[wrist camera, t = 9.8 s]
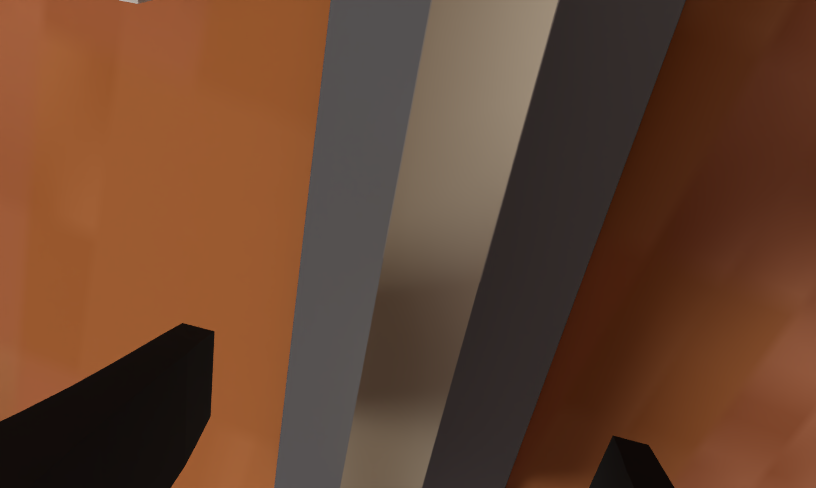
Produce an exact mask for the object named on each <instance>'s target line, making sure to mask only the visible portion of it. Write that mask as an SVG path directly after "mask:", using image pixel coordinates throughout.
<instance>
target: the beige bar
mask: <svg viewBox="0 0 816 488" xmlns="http://www.w3.org/2000/svg"><path fill="white" fill-rule="evenodd" d="M559 1H560V0H431V2H430V8H429V13H428V18H427V24H426V29H425V34H424V40H423V45H422V50H421V56H420V61H419V66H418V71H417V77H416V82H415V87H414V93H413V98H412V103H411V109H410V114H409V119H408V125H407V130H406V135H405V141H404V146H403V151H402V157H401V162H400V167H399V172H398V178H397V183H396V188H395V194H394V199H393V204H392V210H391V215H390V220H389V226H388V231H387V236H386V242H385V247H384V252H383V263H382V269H381V274H380V279H379V285H378V290H377V295H376V300H375V306H374V311H373V316H372V322H371V327H370V332H369V337H368V343H367V348H366V353H365V359H364V364H363V369H362V374H361V380H360V385H359V390H358V396H357V401H356V406H355V411H354V417H353V422H352V427H351V433H350V438H349V443H348V448H347V454H346V459H345V464H344V470H343V475H342V480H341V485H340V488H422V486H423V482H424V479H425V475H426V472H427V468H428V464H429V461H430V457H431V454H432V450H433V447H434V443H435V439H436V436H437V432H438V429H439V425H440V421H441V418H442V414H443V411H444V407H445V404H446V400H447V396H448V393H449V389H450V386H451V382H452V379H453V375H454V371H455V368H456V364H457V361H458V357H459V354H460V350H461V346H462V343H463V339H464V336H465V332H466V328H467V325H468V321H469V318H470V314H471V311H472V307H473V303H474V300H475V296H476V293H477V289H478V286H479V282H481V279H482V276H483V272H484V268H485V265H486V261H487V258H488V254H489V251H490V247H491V244H492V240H493V236H494V233H495V229H496V226H497V222H498V219H499V215H500V211H501V208H502V204H503V201H504V197H505V194H506V190H507V186H508V183H509V179H510V176H511V172H512V169H513V165H514V162H515V158H516V154H517V151H518V147H519V144H520V140H521V137H522V133H523V129H524V126H525V122H526V119H527V115H528V112H529V108H530V105H531V101H532V97H533V94H534V90H535V87H536V83H537V80H538V76H539V72H540V69H541V65H542V62H543V58H544V55H545V51H546V48H547V44H548V40H549V37H550V33H551V30H552V26H553V23H554V19H555V15H556V12H557V8H558V5H559Z"/></svg>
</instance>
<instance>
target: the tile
mask: <svg viewBox="0 0 816 488" xmlns="http://www.w3.org/2000/svg"><path fill="white" fill-rule="evenodd" d="M121 1H126V2H131V3H137V4H139V3H143V2H147V1H151V0H121Z"/></svg>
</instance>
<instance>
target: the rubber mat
mask: <svg viewBox="0 0 816 488" xmlns="http://www.w3.org/2000/svg"><path fill="white" fill-rule="evenodd" d="M685 1H686V0H560V1H559V5H558V8H557V12H556V15H555V19H554V23H553V26H552V30H551V33H550V37H549V40H548V44H547V48H546V51H545V55H544V58H543V62H542V65H541V69H540V72H539V76H538V80H537V83H536V87H535V90H534V94H533V97H532V101H531V105H530V108H529V112H528V115H527V119H526V122H525V126H524V129H523V133H522V137H521V140H520V144H519V147H518V151H517V154H516V158H515V162H514V165H513V169H512V172H511V176H510V179H509V183H508V186H507V190H506V194H505V197H504V201H503V204H502V208H501V211H500V215H499V219H498V222H497V226H496V229H495V233H494V236H493V240H492V244H491V247H490V251H489V254H488V258H487V261H486V265H485V268H484V272H483V276H482V279H481V282H479V286H478V289H477V293H476V296H475V300H474V303H473V307H472V311H471V314H470V318H469V321H468V325H467V328H466V332H465V336H464V339H463V343H462V346H461V350H460V354H459V357H458V361H457V364H456V368H455V371H454V375H453V379H452V382H451V386H450V389H449V393H448V396H447V400H446V404H445V407H444V411H443V414H442V418H441V421H440V425H439V429H438V432H437V436H436V439H435V443H434V447H433V450H432V454H431V457H430V461H429V464H428V468H427V472H426V475H425V479H424V482H423V486H422V488H505V487H506V484H507V481H508V478H509V476H510V473H511V470H512V468H513V465H514V462H515V460H516V457H517V454H518V451H519V449H520V446H521V443H522V441H523V438H524V435H525V433H526V430H527V427H528V425H529V422H530V419H531V416H532V414H533V411H534V408H535V406H536V403H537V400H538V398H539V395H540V392H541V389H542V387H543V384H544V381H545V379H546V376H547V373H548V371H549V368H550V365H551V362H552V360H553V357H554V354H555V352H556V349H557V346H558V344H559V341H560V338H561V336H562V333H563V330H564V327H565V325H566V322H567V319H568V317H569V314H570V311H571V309H572V306H573V303H574V300H575V298H576V295H577V292H578V290H579V287H580V284H581V282H582V279H583V276H584V274H585V271H586V268H587V265H588V263H589V260H590V257H591V255H592V252H593V249H594V247H595V244H596V241H597V238H598V236H599V233H600V230H601V228H602V225H603V222H604V220H605V217H606V214H607V211H608V209H609V206H610V203H611V201H612V198H613V195H614V193H615V190H616V187H617V185H618V182H619V179H620V176H621V174H622V171H623V168H624V166H625V163H626V160H627V158H628V155H629V152H630V149H631V147H632V144H633V141H634V139H635V136H636V133H637V131H638V128H639V125H640V123H641V120H642V117H643V114H644V112H645V109H646V106H647V104H648V101H649V98H650V96H651V93H652V90H653V87H654V85H655V82H656V79H657V77H658V74H659V71H660V69H661V66H662V63H663V60H664V58H665V55H666V52H667V50H668V47H669V44H670V42H671V39H672V36H673V34H674V31H675V28H676V25H677V23H678V20H679V17H680V15H681V12H682V9H683V7H684V4H685ZM430 2H431V0H331V3H330V12H329V21H328V29H327V38H326V46H325V55H324V64H323V72H322V81H321V89H320V98H319V107H318V115H317V124H316V133H315V141H314V150H313V158H312V167H311V176H310V184H309V193H308V202H307V210H306V219H305V227H304V236H303V245H302V253H301V262H300V271H299V279H298V288H297V296H296V305H295V314H294V322H293V331H292V340H291V348H290V357H289V365H288V374H287V383H286V391H285V400H284V409H283V417H282V426H281V434H280V443H279V452H278V460H277V469H276V478H275V486H274V488H340V485H341V480H342V475H343V470H344V464H345V459H346V454H347V448H348V443H349V438H350V433H351V427H352V422H353V417H354V411H355V406H356V401H357V396H358V390H359V385H360V380H361V374H362V369H363V364H364V359H365V353H366V348H367V343H368V337H369V332H370V327H371V322H372V316H373V311H374V306H375V300H376V295H377V290H378V285H379V279H380V274H381V269H382V263H383V252H384V247H385V242H386V236H387V231H388V226H389V220H390V215H391V210H392V204H393V199H394V194H395V188H396V183H397V178H398V172H399V167H400V162H401V157H402V151H403V146H404V141H405V135H406V130H407V125H408V119H409V114H410V109H411V103H412V98H413V93H414V87H415V82H416V77H417V71H418V66H419V61H420V56H421V50H422V45H423V40H424V34H425V29H426V24H427V18H428V13H429V8H430Z"/></svg>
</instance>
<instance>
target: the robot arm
mask: <svg viewBox="0 0 816 488" xmlns="http://www.w3.org/2000/svg"><path fill="white" fill-rule="evenodd" d="M213 351H214V331H211V330H207V329H203V328H199V327H195V326H192V325H188V324H184V323H182V324H180V325H178V326H176V327H175V328H173V329H171V330H169V331H167V332H166V333H164V334H162V335H160V336H159V337H157V338H155V339H154V340H152V341H150V342H148V343H147V344H145V345H143V346H142V347H140V348H138V349H136V350H135V351H133V352H131V353H129V354H128V355H126V356H124V357H123V358H121V359H119V360H117V361H116V362H114V363H112V364H110V365H109V366H107V367H105V368H103V369H101V370H100V371H98V372H96V373H94V374H92V375H91V376H89V377H87V378H85V379H83V380H82V381H80V382H78V383H76V384H74V385H73V386H71V387H69V388H67V389H65V390H63V391H61V392H59V393H57V394H55V395H53V396H51V397H49V398H47V399H45V400H43V401H41V402H39V403H37V404H35V405H33V406H31V407H29V408H27V409H25V410H23V411H21V412H19V413H17V414H15V415H13V416H11V417H9V418H7V419H4V420H2V421H0V488H171V486H172V485H173V483H174V482H175V480H176V479H177V477H178V476H179V474H180V473H181V471H182V470H183V468H184V467H185V465H186V463H187V461H188V459H189V457H190V455H191V454H192V452H193V450H194V448H195V446H196V444H197V442H198V440H199V438H200V436H201V434H202V432H203V430H204V428H205V426H206V424H207V422H208V420H209V418H210V416H211V394H212V373H213ZM589 488H674V486H673V485H672V483H671V481H670V480H669V478H668V476H667V475H666V473H665V471H664V470H663V468H662V466H661V465H660V463H659V461H658V460H657V458H656V456H655V455H654V453H653V451H652V450H651V448H650V447H649V445H647V444H643V443H639V442H635V441H631V440H627V439H624V438H620V437H616V436H613V437H612V439H611V441H610V443H609V445H608V448H607V450H606V452H605V454H604V456H603V459H602V461H601V463H600V465H599V467H598V469H597V472H596V474H595V476H594V478H593V480H592V482H591V485H590V487H589Z"/></svg>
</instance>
